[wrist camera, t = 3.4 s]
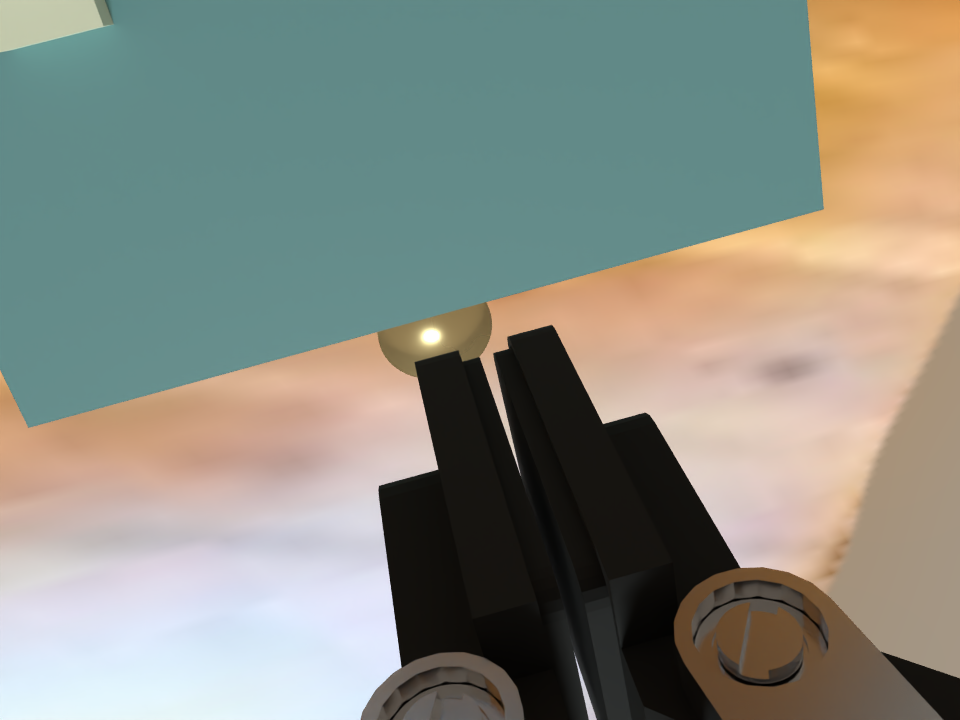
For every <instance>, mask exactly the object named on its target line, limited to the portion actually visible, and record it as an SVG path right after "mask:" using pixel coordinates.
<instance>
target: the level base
mask: <svg viewBox="0 0 960 720" xmlns="http://www.w3.org/2000/svg"><path fill="white" fill-rule="evenodd" d="M491 330H492V319H491V314H490V310H489V307H488V305H487V303H486V302H484V303H481V304H477V305H473V306H470V307H466V308H462V309H459V310H455V311H452V312H448V313H444V314H441V315H437V316H433V317H430V318H426V319H422V320H419V321H415V322H412V323H408V324H404V325H401V326H397V327H393V328H390V329H386V330H382V331H379V332H377V334H378V339H379V343H380V347H381V349H382V352H383V353H384V355H385V357H386V358H387V359H388V361H389V362H390V363H391V364H392V365H393V366H394V367H396V368H397V369H399V370H400V371H402V372H404V373H406V374H408V375H411V376H414V377H417V372H416V368H415V362H416V361H420V360H423V359H427V358H431V357H435V356H438V355H442V354H446V353H449V352H453V351H457V350H459V353H460V356H461V359H462V362H463V361H467V360H470V359H474V358H478V357H479V356H480V355H481V354H482V353H483V351H484V349H485V348H486V346H487V344H488V342H489V339H490V336H491Z"/></svg>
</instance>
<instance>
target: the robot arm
mask: <svg viewBox="0 0 960 720" xmlns="http://www.w3.org/2000/svg"><path fill="white" fill-rule="evenodd" d="M507 340H508V346H509V349H507V350H503V351H500V352H496V353H493V355H494V361H495V366H496V370H497V374H498V379H499V383H500V387H501V392H502V396H503V400H504V405H505V409H506V413H507V418H508V422H509V426H510V431H511V435H512V439H513V444H514V448H515V452H516V457H517V461H518V465H519V470H520V473H519V470H518V467H517V464H516V461H515V458H514V455H513V453H512V450H511V447H510V444H509V441H508V438H507V435H506V432H505V429H504V426H503V424H502V421H501V418H500V415H499V412H498V409H497V406H496V403H495V400H494V398H493V395H492V392H491V389H490V386H489V383H488V380H487V377H486V374H485V371H484V369H483V366H482V363H481V360H480V358H479V357H478V358H474V359H470V360H467V361H463V362H462V359H461V356H460V353H459V350H457V351H453V352H449V353H446V354H442V355H438V356H435V357H431V358H427V359H423V360H420V361H416V362H415V368H416V372H417V377H418V381H419V385H420V390H421V394H422V399H423V403H424V408H425V412H426V416H427V421H428V425H429V430H430V434H431V438H432V443H433V447H434V452H435V456H436V460H437V465H438V469H439V470H435V471H432V472H428V473H424V474H421V475H417V476H414V477H410V478H406V479H403V480H399V481H395V482H392V483H388V484H384V485H381V486H379V501H380V508H381V516H382V523H383V531H384V538H385V546H386V554H387V561H388V569H389V576H390V584H391V591H392V599H393V606H394V614H395V621H396V629H397V636H398V644H399V651H400V659H401V667H402V668H401V669H399V670H397V671H396V672H394V673H393V674H392V675H391V676H390V677H389V678H388V679H387V680H386V681H385V682H384V683H383V684H382V685H380V686H379V687H378V688H377V689H376V690H375V692H374V694H373V695H372V697H371V699H370V700H369V702H368V704H367V705H366V707H365V709H364V710H363V712H362V716H361V720H589V719H588V714H587V710H586V705H585V700H584V696H583V691H582V687H581V682H580V678H579V673H578V669H577V664H576V659H577V662H578V665H579V668H580V671H581V674H582V677H583V680H584V683H585V686H586V689H587V691H588V694H589V697H590V700H591V703H592V706H593V709H594V712H595V715H596V718H597V720H960V678H957V677H954V676H951V675H948V674H945V673H942V672H939V671H936V670H933V669H930V668H927V667H925V666H922V665H919V664H916V663H912V662H910V661H907V660H904V659H901V658H898V657H895V656H892V655H889V654H886V653H883V652H880V651H879V650H878V649H877V648H876V647H875V645H874V644H873V643H872V642H871V641H870V640H869V639H868V638H867V637H866V636H865V635H864V634H863V632H861V630H860V629H859V628H858V627H857V626H856V625H855V624H854V623H853V622H852V621H851V619H850V618H848V616H847V615H846V614H845V613H844V612H843V611H842V610H841V609H840V608H839V607H838V605H837V604H836V603H835V602H834V601H833V600H832V599H831V598H830V597H829V596H827V595H826V594H825V593H824V592H822V591H821V590H820V589H819V588H818V587H816V586H815V585H814V584H813V583H811V582H809V581H806V580H804V579H802V578H800V577H798V576H795V575H793V574H791V573H789V572H784V571H779V570H774V569H769V568H764V567H760V568H740V566H739V565H738V563H737V561H736V559H735V558H734V556H733V554H732V553H731V551H730V549H729V548H728V546H727V544H726V542H725V541H724V539H723V537H722V536H721V534H720V532H719V531H718V529H717V527H716V526H715V524H714V522H713V520H712V519H711V517H710V515H709V514H708V512H707V510H706V509H705V507H704V505H703V503H702V502H701V500H700V498H699V497H698V495H697V493H696V492H695V490H694V488H693V486H692V485H691V483H690V481H689V480H688V478H687V476H686V475H685V473H684V471H683V469H682V468H681V466H680V464H679V463H678V461H677V459H676V458H675V456H674V454H673V452H672V451H671V449H670V447H669V446H668V444H667V442H666V441H665V439H664V437H663V435H662V434H661V432H660V430H659V429H658V427H657V425H656V424H655V422H654V421H653V419H652V418H651V417H650V415H648V414H647V413H642V414H638V415H635V416H631V417H628V418H624V419H620V420H617V421H613V422H609V423H606V424H603V423H602V421H601V419H600V417H599V415H598V413H597V411H596V409H595V407H594V405H593V403H592V401H591V399H590V397H589V395H588V393H587V391H586V390H585V388H584V386H583V384H582V382H581V380H580V378H579V376H578V374H577V372H576V370H575V368H574V366H573V364H572V362H571V360H570V358H569V356H568V354H567V352H566V350H565V348H564V346H563V344H562V342H561V340H560V338H559V336H558V334H557V332H556V330H555V328H554V327H553V326H552V325H549V326H546V327H542V328H538V329H535V330H531V331H527V332H523V333H520V334H516V335H512V336H509V337H508V339H507ZM520 474H521V476H520ZM521 478H522V479H521ZM574 653H575V655H574ZM575 656H576V659H575Z"/></svg>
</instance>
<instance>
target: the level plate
mask: <svg viewBox="0 0 960 720" xmlns="http://www.w3.org/2000/svg"><path fill="white" fill-rule="evenodd" d="M823 209H824V207H823V195H822V182H821V170H820V158H819V145H818V133H817V120H816V108H815V96H814V83H813V71H812V58H811V46H810V34H809V21H808V9H807V0H0V370H1V372H2V374H3V376H4V379H5V381H6V383H7V385H8V387H9V389H10V391H11V393H12V395H13V397H14V399H15V401H16V403H17V405H18V407H19V409H20V411H21V413H22V415H23V417H24V419H25V421H26V424H27V426H28V428H29V427H33V426H37V425H40V424H44V423H48V422H51V421H55V420H59V419H62V418H66V417H69V416H73V415H77V414H80V413H84V412H88V411H91V410H95V409H99V408H102V407H106V406H109V405H113V404H117V403H120V402H124V401H128V400H131V399H135V398H139V397H142V396H146V395H149V394H153V393H157V392H160V391H164V390H168V389H171V388H175V387H179V386H182V385H186V384H190V383H193V382H197V381H200V380H204V379H208V378H211V377H215V376H219V375H222V374H226V373H230V372H233V371H237V370H240V369H244V368H248V367H251V366H255V365H259V364H262V363H266V362H270V361H273V360H277V359H281V358H284V357H288V356H291V355H295V354H299V353H302V352H306V351H310V350H313V349H317V348H321V347H324V346H328V345H331V344H335V343H339V342H342V341H346V340H350V339H353V338H357V337H361V336H364V335H368V334H371V333H375V332H379V331H382V330H386V329H390V328H393V327H397V326H401V325H404V324H408V323H412V322H415V321H419V320H422V319H426V318H430V317H433V316H437V315H441V314H444V313H448V312H452V311H455V310H459V309H462V308H466V307H470V306H473V305H477V304H481V303H484V302H488V301H492V300H495V299H499V298H503V297H506V296H510V295H513V294H517V293H521V292H524V291H528V290H532V289H535V288H539V287H543V286H546V285H550V284H553V283H557V282H561V281H564V280H568V279H572V278H575V277H579V276H583V275H586V274H590V273H593V272H597V271H601V270H604V269H608V268H612V267H615V266H619V265H623V264H626V263H630V262H634V261H637V260H641V259H644V258H648V257H652V256H655V255H659V254H663V253H666V252H670V251H674V250H677V249H681V248H684V247H688V246H692V245H695V244H699V243H703V242H706V241H710V240H714V239H717V238H721V237H725V236H728V235H732V234H735V233H739V232H743V231H746V230H750V229H754V228H757V227H761V226H765V225H768V224H772V223H775V222H779V221H783V220H786V219H790V218H794V217H797V216H801V215H805V214H808V213H812V212H815V211H819V210H823Z"/></svg>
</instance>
